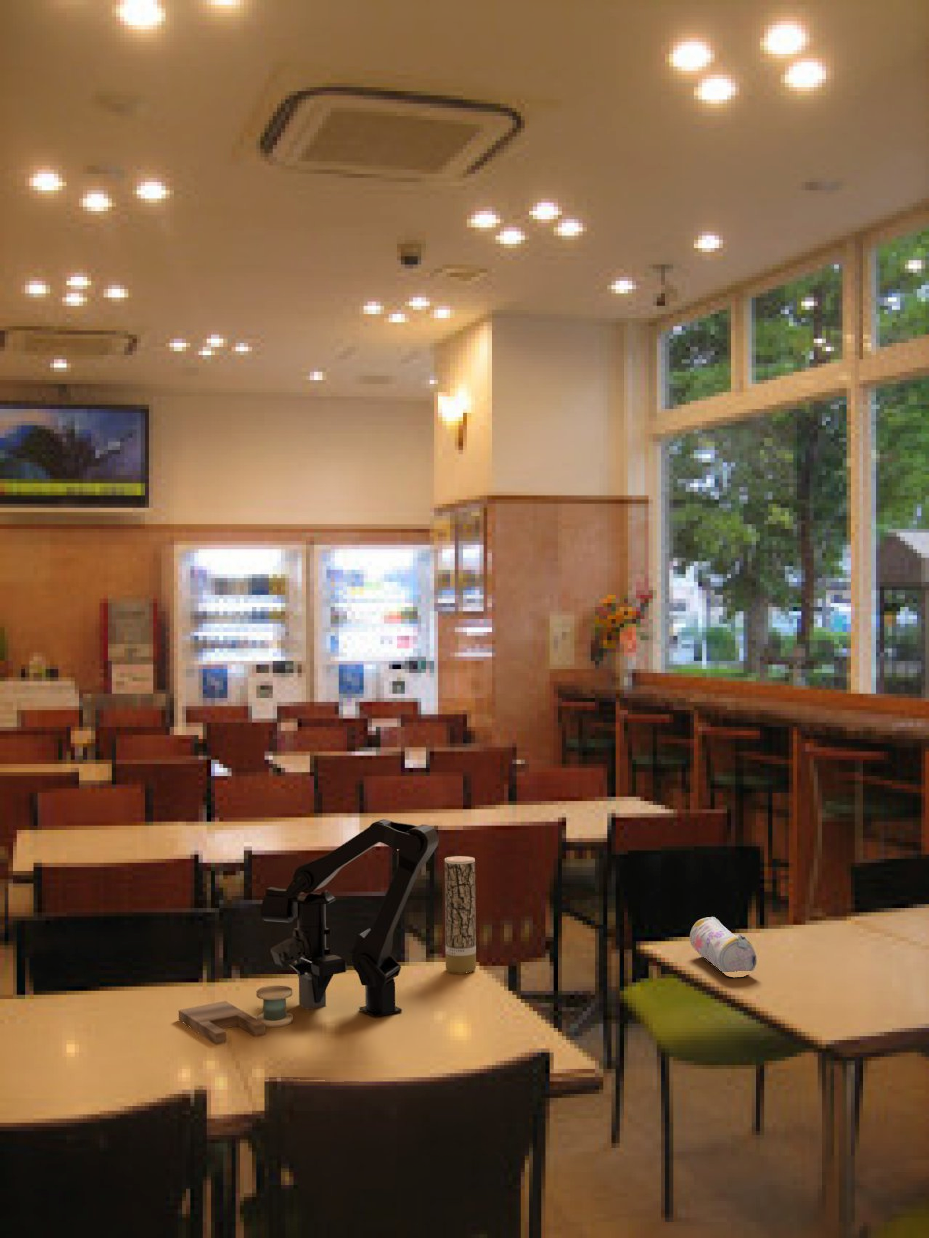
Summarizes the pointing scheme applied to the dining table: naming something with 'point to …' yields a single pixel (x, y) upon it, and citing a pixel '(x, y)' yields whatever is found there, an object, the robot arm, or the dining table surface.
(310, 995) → the tab block
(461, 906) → the paper tube
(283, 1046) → the dining table surface
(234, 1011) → the notch board
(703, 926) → the pencil case
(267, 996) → the bobbin
